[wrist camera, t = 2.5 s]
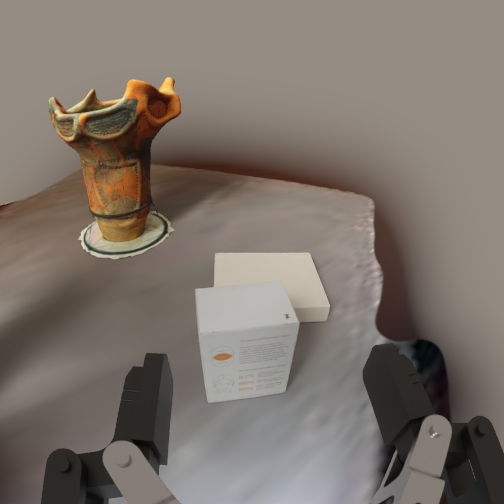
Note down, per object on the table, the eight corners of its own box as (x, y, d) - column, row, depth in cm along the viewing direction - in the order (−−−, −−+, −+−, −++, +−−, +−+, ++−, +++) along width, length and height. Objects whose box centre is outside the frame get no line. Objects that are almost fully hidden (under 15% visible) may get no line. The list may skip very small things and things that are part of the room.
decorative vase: (90, 205, 64) (82, 79, 49) (189, 212, 65) (195, 74, 50) (43, 258, 47) (18, 94, 31) (166, 272, 48) (165, 78, 33)
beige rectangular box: (213, 324, 38) (213, 309, 37) (215, 266, 48) (215, 252, 47) (326, 321, 39) (330, 306, 38) (307, 266, 49) (309, 252, 48)
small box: (273, 353, 34) (283, 278, 29) (286, 394, 30) (302, 322, 24) (201, 361, 33) (193, 286, 27) (206, 404, 28) (198, 333, 23)
